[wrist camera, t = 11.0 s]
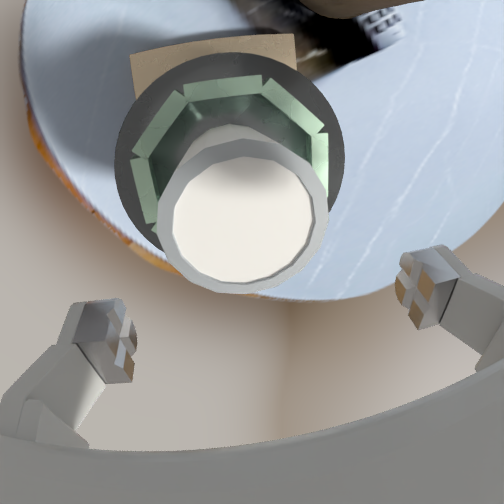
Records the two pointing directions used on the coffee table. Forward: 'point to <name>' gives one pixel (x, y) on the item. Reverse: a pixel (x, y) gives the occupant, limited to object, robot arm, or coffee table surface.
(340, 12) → the pillar candle
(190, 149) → the white cylinder
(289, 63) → the green-rimmed dark canister
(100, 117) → the coffee table surface
